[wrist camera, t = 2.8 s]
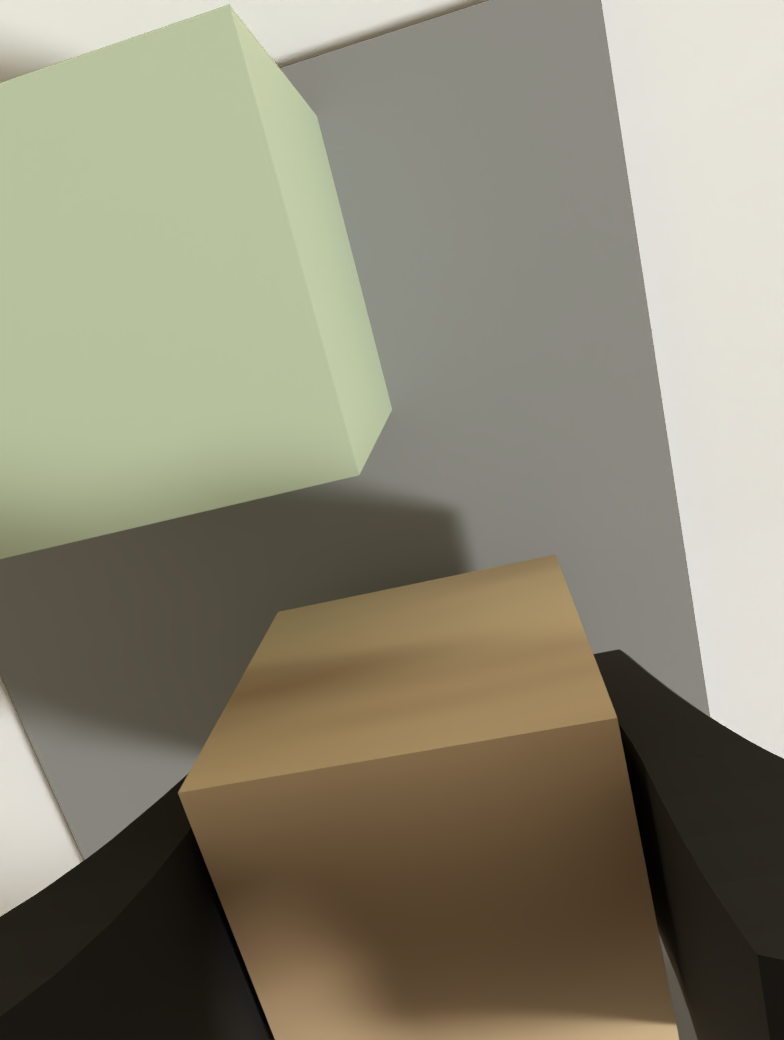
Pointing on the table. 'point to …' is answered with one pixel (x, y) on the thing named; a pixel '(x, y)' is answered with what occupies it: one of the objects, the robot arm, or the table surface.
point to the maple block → (433, 821)
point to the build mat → (405, 416)
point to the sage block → (172, 290)
